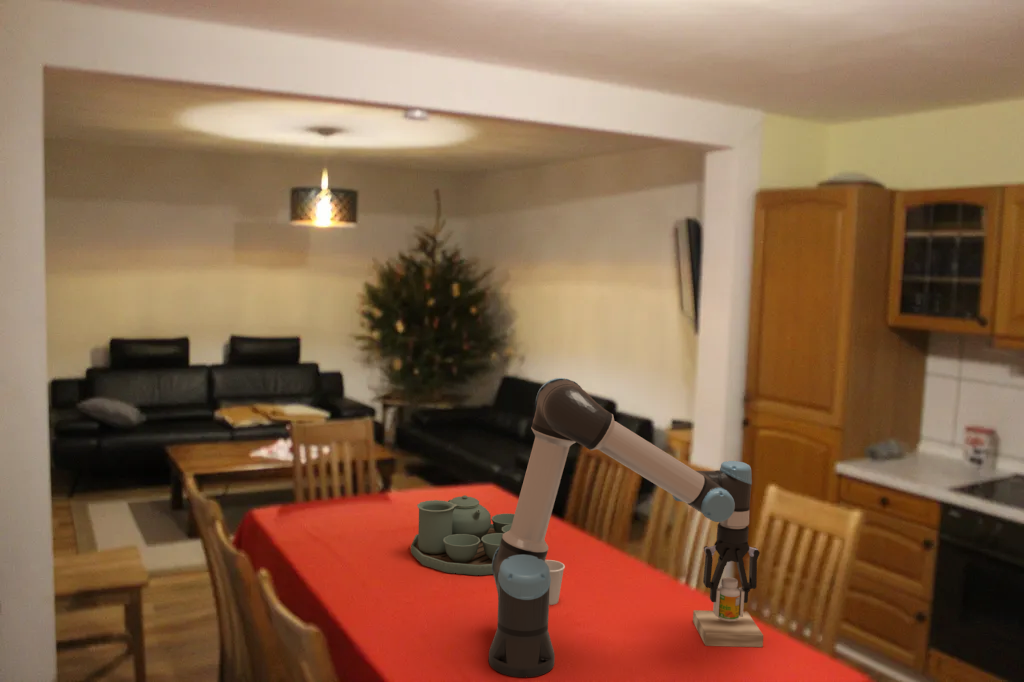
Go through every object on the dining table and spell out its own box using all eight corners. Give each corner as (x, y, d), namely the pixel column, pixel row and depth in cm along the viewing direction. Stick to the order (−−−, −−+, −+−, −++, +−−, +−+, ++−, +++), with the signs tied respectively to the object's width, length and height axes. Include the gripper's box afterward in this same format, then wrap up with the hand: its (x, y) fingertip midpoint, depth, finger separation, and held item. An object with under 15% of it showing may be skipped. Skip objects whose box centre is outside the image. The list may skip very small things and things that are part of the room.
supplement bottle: (712, 617, 218) (715, 579, 217) (722, 611, 222) (724, 574, 221) (733, 623, 215) (735, 585, 214) (742, 617, 219) (744, 579, 218)
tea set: (487, 588, 244) (488, 531, 243) (384, 555, 268) (385, 502, 266) (564, 551, 276) (566, 500, 274) (466, 525, 300) (468, 478, 298)
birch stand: (762, 647, 212) (763, 635, 212) (705, 645, 212) (706, 633, 211) (746, 622, 226) (747, 611, 225) (692, 621, 226) (693, 610, 225)
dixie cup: (537, 608, 231) (539, 571, 230) (528, 595, 239) (530, 560, 238) (567, 605, 233) (569, 569, 232) (557, 593, 241) (559, 558, 240)
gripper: (765, 520, 220) (760, 609, 222) (692, 518, 219) (688, 607, 222) (774, 530, 212) (769, 621, 215) (699, 528, 212) (694, 619, 214)
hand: (727, 614), depth 218 cm, fingers closed on supplement bottle, 5 cm apart
